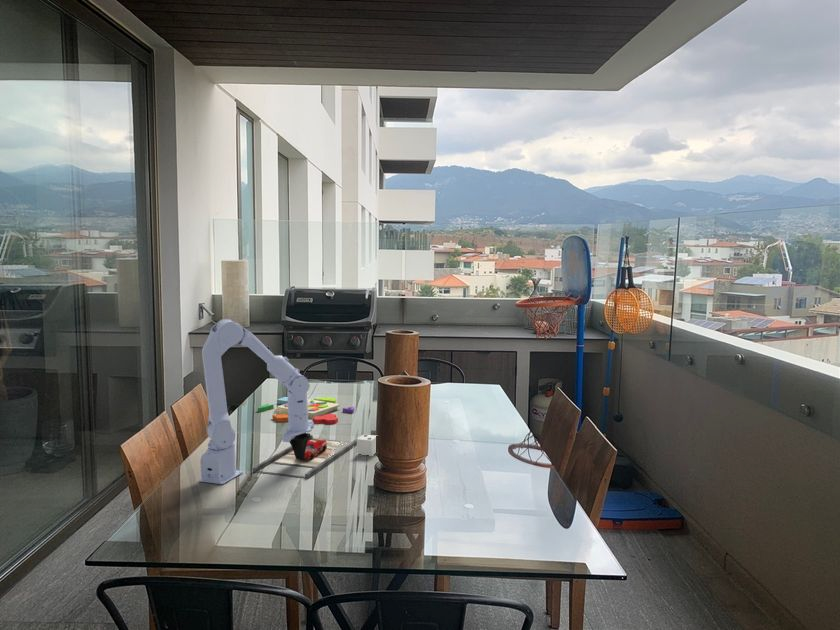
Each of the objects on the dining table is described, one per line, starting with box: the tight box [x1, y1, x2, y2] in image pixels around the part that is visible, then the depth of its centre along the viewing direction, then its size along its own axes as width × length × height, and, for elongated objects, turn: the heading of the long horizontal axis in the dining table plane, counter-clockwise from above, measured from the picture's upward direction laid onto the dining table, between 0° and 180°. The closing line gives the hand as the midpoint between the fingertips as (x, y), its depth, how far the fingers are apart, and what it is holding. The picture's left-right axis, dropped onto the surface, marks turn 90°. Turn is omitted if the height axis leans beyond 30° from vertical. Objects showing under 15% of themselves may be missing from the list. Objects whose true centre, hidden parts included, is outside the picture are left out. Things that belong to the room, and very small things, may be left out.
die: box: [356, 434, 377, 457], centre depth 193 cm, size 5×5×5 cm
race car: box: [303, 438, 327, 460], centre depth 192 cm, size 13×5×4 cm, turn 159°
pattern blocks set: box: [257, 396, 355, 425], centre depth 245 cm, size 38×34×3 cm
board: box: [252, 434, 358, 480], centre depth 191 cm, size 33×18×1 cm, turn 161°
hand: (299, 458), depth 186 cm, fingers closed
